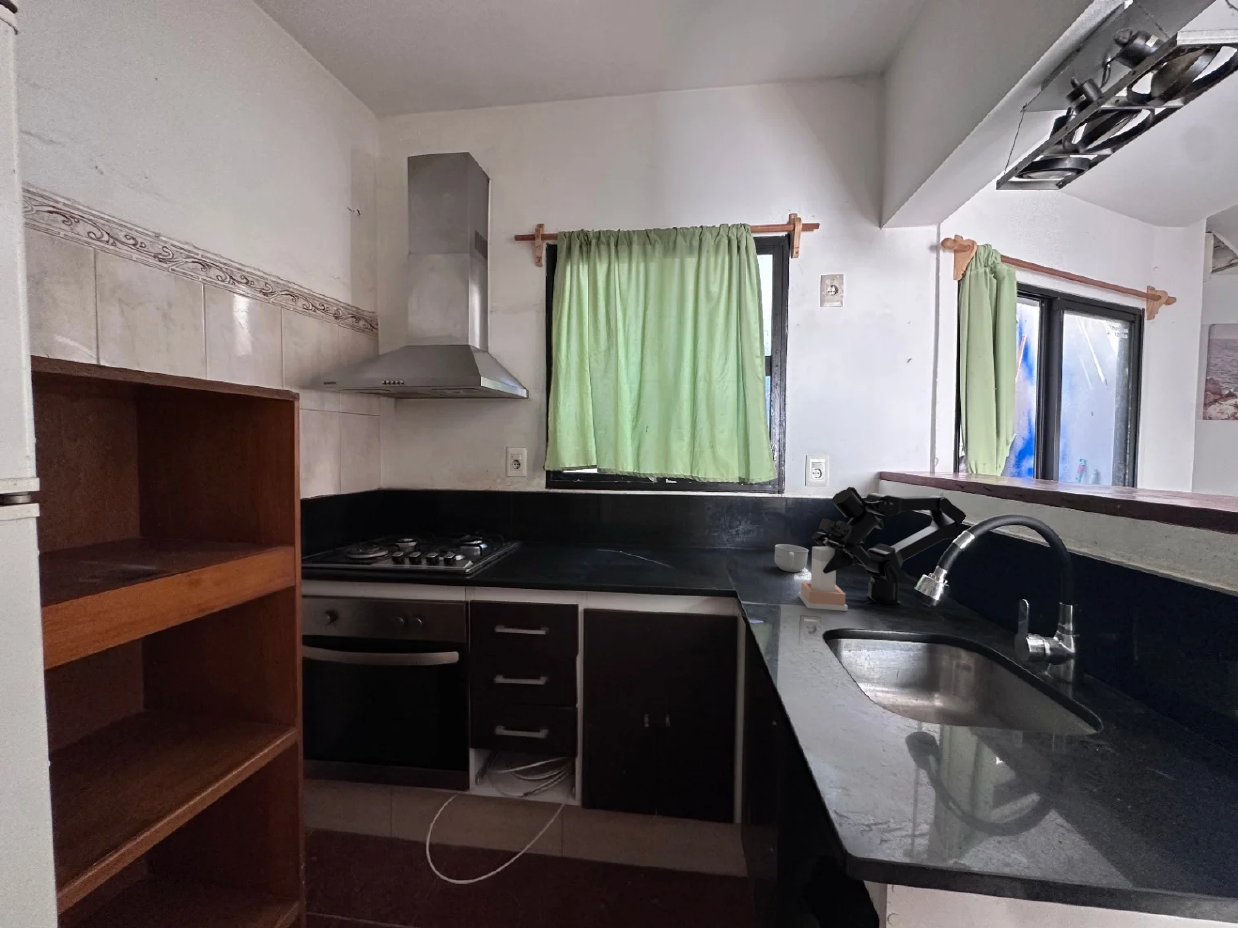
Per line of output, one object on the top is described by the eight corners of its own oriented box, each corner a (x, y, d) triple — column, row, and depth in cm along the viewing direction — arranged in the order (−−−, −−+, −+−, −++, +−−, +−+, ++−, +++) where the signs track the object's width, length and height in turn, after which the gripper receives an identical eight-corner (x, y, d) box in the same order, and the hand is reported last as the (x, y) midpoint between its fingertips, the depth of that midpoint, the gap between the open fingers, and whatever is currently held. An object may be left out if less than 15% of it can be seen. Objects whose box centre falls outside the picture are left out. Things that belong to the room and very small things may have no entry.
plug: (825, 592, 130) (826, 546, 129) (834, 597, 125) (836, 550, 125) (810, 592, 129) (812, 546, 128) (819, 598, 125) (821, 550, 124)
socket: (835, 598, 132) (836, 583, 131) (847, 610, 122) (848, 594, 122) (798, 595, 133) (799, 581, 133) (807, 607, 123) (808, 592, 123)
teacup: (777, 564, 168) (778, 542, 168) (809, 568, 162) (810, 546, 162) (768, 573, 156) (769, 549, 156) (803, 578, 151) (803, 554, 150)
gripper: (818, 504, 136) (782, 542, 135) (861, 514, 118) (820, 558, 116) (842, 530, 138) (806, 568, 136) (888, 544, 119) (847, 588, 118)
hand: (818, 569), depth 127 cm, fingers closed on plug, 4 cm apart
